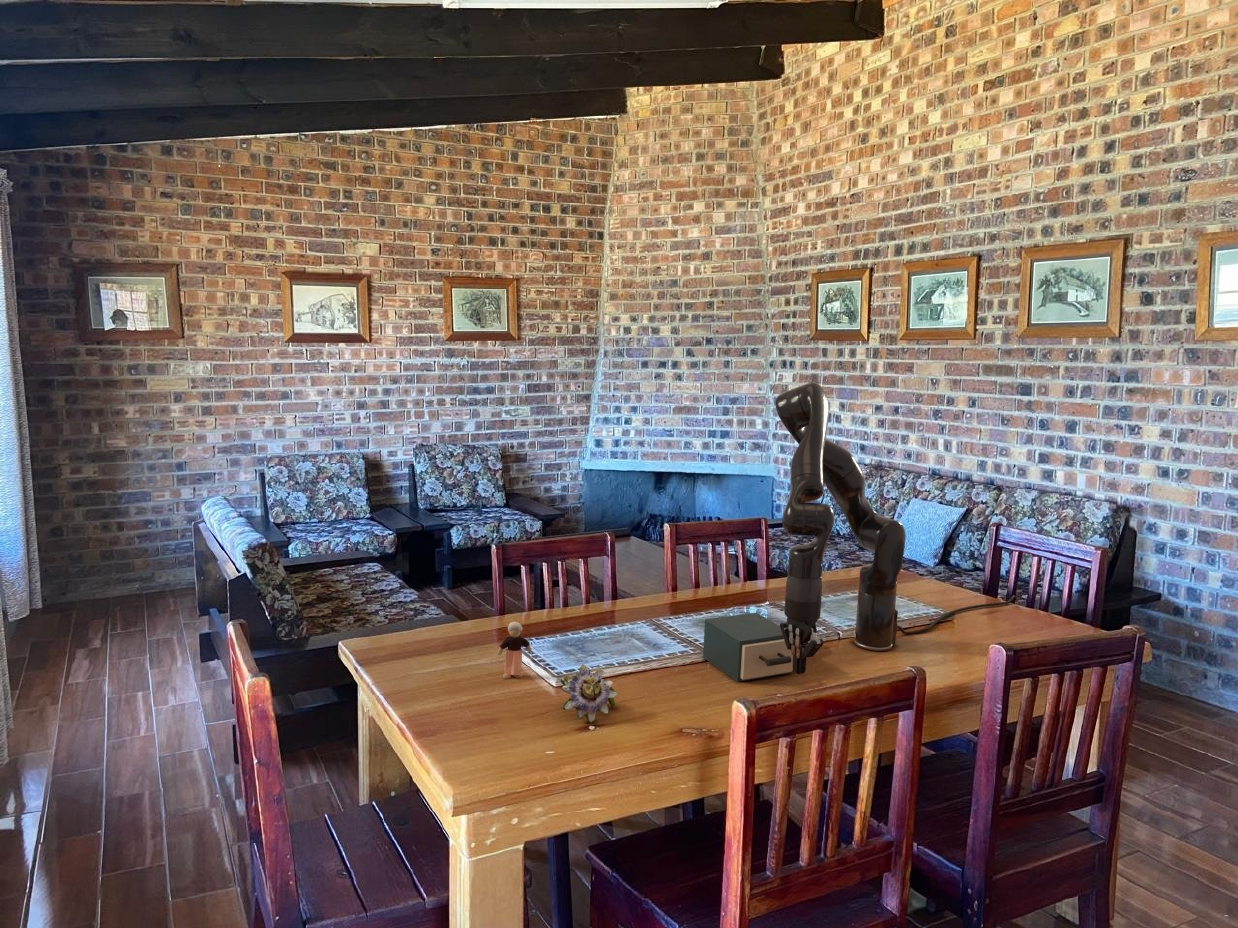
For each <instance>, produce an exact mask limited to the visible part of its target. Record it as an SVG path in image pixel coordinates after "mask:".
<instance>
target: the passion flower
mask: <svg viewBox="0 0 1238 928" xmlns="http://www.w3.org/2000/svg"><path fill="white" fill-rule="evenodd" d="M604 673H605V672H604V669H602V668H600V669H599V670H596V671H595V672H592V671H591V669H588V667H587V665H585V664H583V663H582V664H581V665H580V666H579V671H578V672H576V674H575V675H572V676H571V675H568V674H565V675H564V676H563V678H564V679H563V678H560V681H559V682H560V683H561V685H562V686H560V689H561V690H562V691H563V692H565V693H566V694H569V698H568V699H567V700H566V701H565V702H564V703H563V705H562V710H564V711H568V710H571V709H573V708H574V709H575V714H576V717H577V719H578V720H581V719H582V718H583V717H585V718H586V719H587V721H588V722H589V723H593V722H594V721H595V718H596V713H597V712H598V711H599V712H601V714H604V715H607V714H609V707H608V704H609V706H611V708H612V709H614V708H615V706H616V700H615V698H617V696H618V692H616V690H615V689H614V687H613V685H614V682H613V681H612V680H606V679H604V678H603V676H604ZM569 680H570V681H569Z"/></svg>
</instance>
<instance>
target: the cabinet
mask: <svg viewBox="0 0 1238 928" xmlns="http://www.w3.org/2000/svg"><path fill="white" fill-rule="evenodd" d="M782 638H783V635H782V632H781V628H780V624H777V623H776V622H775V621H772V620H770V619H768V618H767V617H765V616H763V615H761V613H760V614H759V613H757V612H750V613H744V614H736V615H735V614H734V615H726V616H719V617H711V618H705V619H704V630H703V648H702V649H703V650H702V651H703V653H702V658H704V659H705V660H706V661H708V662H709V663H710V664H712V665H713V666H714V667H715V668H718V669H719V670H720V671H722V673H724V674H726V675H727V676H728V677H730V678H731V679H732V680H734V681H736V682H737V683H740V682H745V681H751V680H752V681H753V680H757V679H765V678H770V677H776V676H782V675H786V674H787V675H788V674H792V672H787V673H781V674H775V675H769V676H763V677H757V678H751V679H745V680H743V679H741V678H740V673H741V655H742V645H743V644H748V643H755V642H761V641H768V640H775V639H782Z"/></svg>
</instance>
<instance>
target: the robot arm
mask: <svg viewBox="0 0 1238 928" xmlns="http://www.w3.org/2000/svg"><path fill="white" fill-rule="evenodd" d="M774 406H775V411H776V413H777V416H778V418H779V420H780V421H781V423H782V425H783V426H784V427H785V429H786V430H787V432H788V433H789V434H790V436H791V437H792V438H793V439H794V440H795V442H796V443H797V444H798V446H797V448H796V450H795V452H794V454H793V456H792V459H791V462H790V468H789V475H790V476H789V477H790V478H789V479H790V481H789V483H790V485H789V486H790V487H789V490H790V491H789V496H788V498H787V502H786V505H785V507H784V510H783V513H782V518H781V524H782V527H783V528H782V529H783V530H784V531H785V533H787V534H788V535H790V536H795V537H814V538H813V539H812V541H810V542H808V543H805V544H804V543H803V544H798V545H795V546H793V547H791V548H790V549H789V552H788V566H787V578H786V581H785V595H784V596H785V597H784V613H783V614H784V615H785V617H786V621H785V622H781V623H780V624H779V626H780V628H781V632H782V635H783V638H784V641H785V644H786V647H787V649H788V650H791V654H792V655H793V665H792V666H793V669H792V672H793V673H795V674H796V675H804V674H805V673H806V670H807V669H806V668H807V659H808V658H814V657H815V656H816V654H817V653H818V651H820V649H821V648H822V646H823V645H824V644H825V643H824V639H823V638H819V637H818V635H817V632H818V629H817V621H818V620H819V619H820V618H821V614H822V613H821V612H822V597H823V578H822V577H823V563H824V554H825V550H826V547H827V543H828V541H829V538H830V535H831V533H832V531H833V527H834V524H835V520H836V519H835V513H834V510H833V508H832V507H831V505H829V504H827V503H824V502H823V503H822V502H815V501H817V500H819V499H821V498H822V496H823V495H824V492H825V488H826V489H827V491H828V492H829V493H830V495H831V496H832V497H833V499H834V501H835V503H836V504H837V505H838V507H839V509H840V510H841V511H842V513H843V515H844V517H845V518H846V521H847V523H848V525H849V527H850V529H851V532H852V534H853V535H854V537H855V540H856V541H857V543H858V544H859V545H860V546H861V547H862V548H863V549H865V550H867V551H870V552H872V553H874V555H873V560H872V563H866V564H863V565H861V567H860V568H859V576H858V588H857V590H858V591H857V604H856V615H855V627H854V630H853V636H854V638H853V643H854V645H855V646H857V647H859V648H861V649H864V650H868V651H875V652H884V651H890V650H891V649H892V648H893V647H895V646H896V639H897V633H898V630H899V631H900V632H901V633H902V634H903V635H915V634H919V633H923V632H927V631H928V630H929V631H930V630H931V629H932V628H933V627H934V626H935V625H937V623H940V622H941V621H942V620H944V619H945V618H947V617H949V616H951V615H954V614H956V613H959V612H964V611H967V610H973V609H978V608H987V607H994V606H1003V605H1008V604H1011V603H1012V601H1014V600H1015V601H1017V600H1018V597H1016V595H1014V594H1013V595H1012V596H1010V598H1009V599H1008V600H1006V601H1001V602H990V603H983V604H975V605H970V606H964V607H960V608H957V609H953V610H951V611H948V612H946V613H945V614H943V615H941V616H939V617H937V618H936V619H935V620H934V621H932V622H931V623H930V624H929V625H928V626H926V627H923V628H920V629H917V630H911V631H910V630H908V631H907V630H904V628H903V627H902V626H900V625H898V615H899V611H898V609H897V608H896V603H897V593H898V580H899V575H900V573H901V571H902V567H903V561H904V554H905V547H906V538H907V537H906V529H905V527H904V524H903V523H902V522H900V521H898V520H896V519H894V518H890V517H886V516H883V515H880V514H879V513H878V512H876V510H875V509H874V508H873V507H872V505H871V504H870V502H869V500H868V499H867V497H866V477H865V474H864V471H863V470H862V468H861V467H860V465H859V463H858V462H857V460H856V458H855V456H854V455H853V454H852V453H851V452H850V450H848V449H846V448H845V447H843V446H841V445H839V444H837V443H836V442H833V441H831V440H829V439H827V434H828V433H827V432H828V428H829V427H828V426H829V419H830V403H829V399H828V396H827V393H826V391H825V390H824V388H823V387H822V386H821V385H820V384H819V383H818V382H815V381H814V382H808V383H805V384H802V385H800V386H799V385H798V386H797V387H794V388H792V389H789V390H786V391H784V392H782V393H780V394H778V395H777V396H776V398H775V401H774Z"/></svg>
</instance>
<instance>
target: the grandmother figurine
mask: <svg viewBox="0 0 1238 928" xmlns="http://www.w3.org/2000/svg"><path fill="white" fill-rule="evenodd" d="M507 632H508V635H509V636H507V637H505V639H504V640H503V641H502V642H501V643H500V644H499V648H498V650H497V652H496V655H498V656H500V655H502V653H503V651H504V650H505V649H506V652H505V657H504V658H505V659H504V671H503V672H504V673H503V675H502V679H508V680H509V679H511V678H512V676H513V677H514V678H517V679H519V678H522V677H523V673H522V666H523V649H522V647H524V648H526V651H527V652H528V653H531V652H532V651H533V648H532V647H531V644H530V643H531V642H530V641H528V640H527V639H526V638H525V637H522V636H520V635H521V633H522V632H523V626H522V624H521V623H519V622H518V621H516V620H515V621H511V622H509V624H508V626H507Z"/></svg>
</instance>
